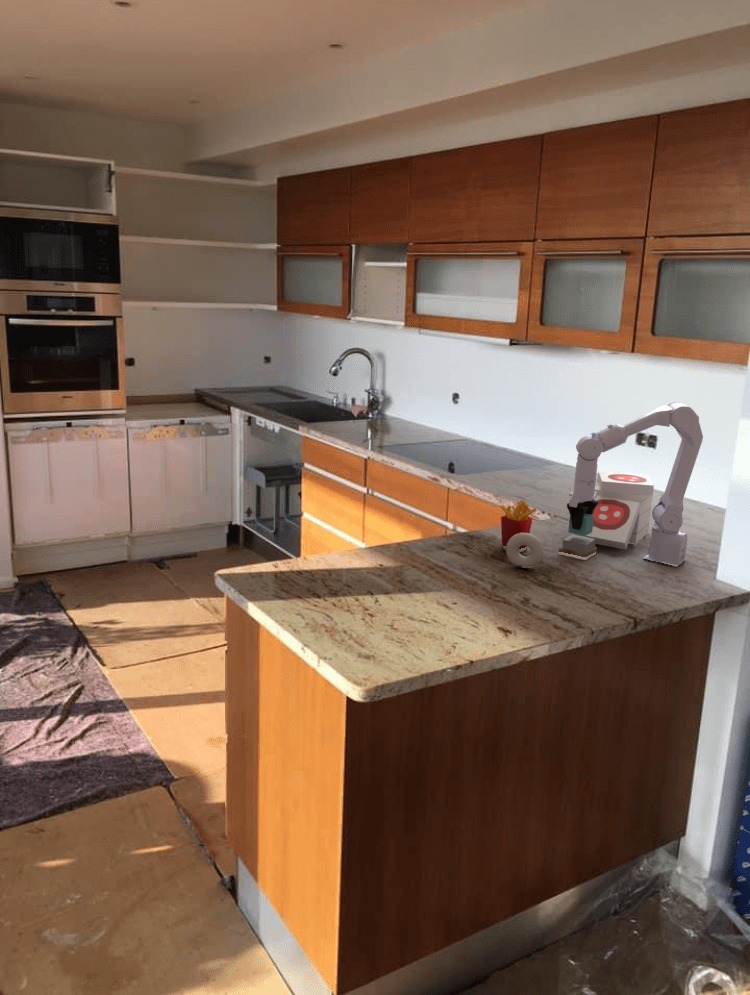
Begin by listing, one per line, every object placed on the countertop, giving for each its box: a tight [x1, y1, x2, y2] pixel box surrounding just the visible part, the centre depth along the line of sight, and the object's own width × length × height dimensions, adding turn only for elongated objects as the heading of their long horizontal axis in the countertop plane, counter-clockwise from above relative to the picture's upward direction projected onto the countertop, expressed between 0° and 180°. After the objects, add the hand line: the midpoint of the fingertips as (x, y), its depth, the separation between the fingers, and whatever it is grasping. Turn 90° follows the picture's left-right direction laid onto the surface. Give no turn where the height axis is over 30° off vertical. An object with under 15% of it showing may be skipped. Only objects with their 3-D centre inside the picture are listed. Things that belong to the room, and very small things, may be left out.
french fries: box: [500, 499, 537, 549], centre depth 237 cm, size 9×8×15 cm
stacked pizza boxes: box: [573, 470, 655, 550], centre depth 252 cm, size 19×30×18 cm, turn 149°
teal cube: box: [567, 513, 594, 536], centre depth 235 cm, size 5×5×5 cm
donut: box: [505, 533, 544, 567], centre depth 223 cm, size 10×4×10 cm, turn 68°
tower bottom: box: [558, 546, 598, 557], centre depth 238 cm, size 8×8×2 cm
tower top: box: [561, 533, 596, 553], centre depth 237 cm, size 7×7×2 cm
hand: (580, 526), depth 236 cm, fingers closed on teal cube, 5 cm apart
